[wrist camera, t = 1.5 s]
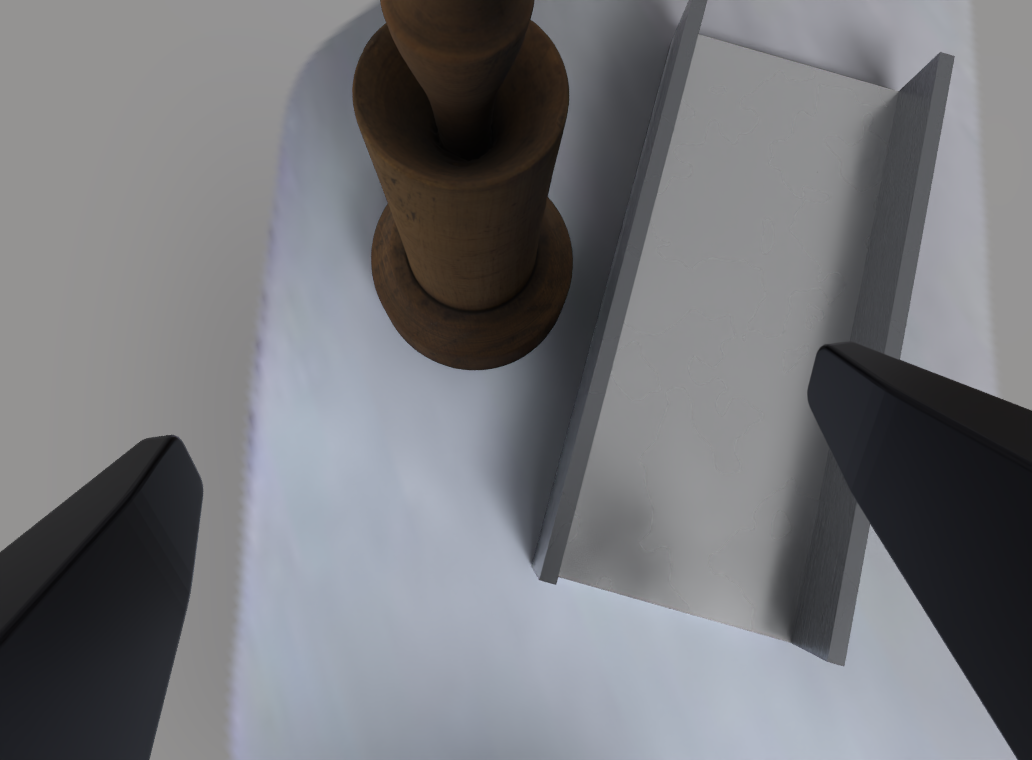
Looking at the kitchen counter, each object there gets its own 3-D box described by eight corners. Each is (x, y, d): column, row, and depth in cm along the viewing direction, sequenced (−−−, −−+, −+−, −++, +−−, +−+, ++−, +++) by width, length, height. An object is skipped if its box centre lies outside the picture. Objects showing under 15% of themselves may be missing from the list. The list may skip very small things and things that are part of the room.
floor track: (794, 641, 21) (844, 666, 18) (531, 566, 21) (539, 580, 18) (897, 107, 25) (954, 56, 22) (670, 42, 25) (696, -18, 22)
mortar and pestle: (343, 253, 23) (-164, -590, 5) (495, 158, 23) (535, -851, 6) (450, 407, 22) (314, 85, 4) (602, 303, 23) (1023, -328, 5)
